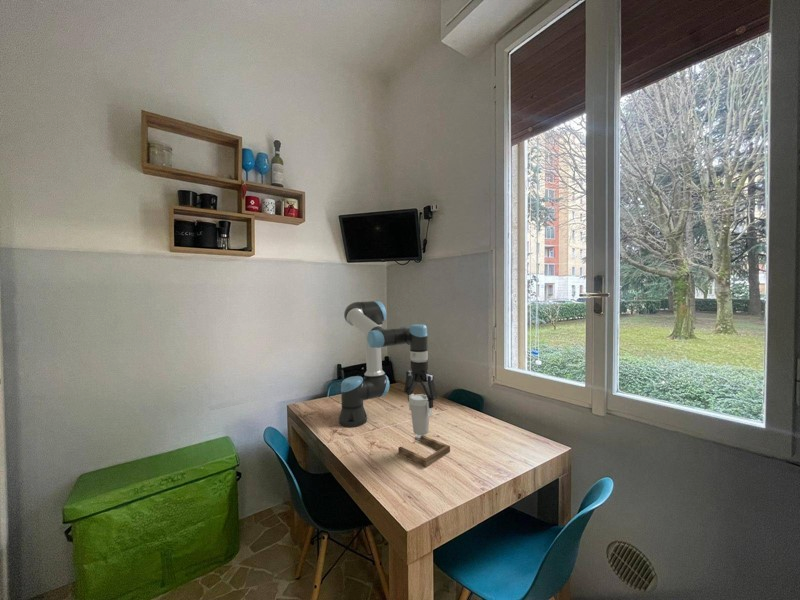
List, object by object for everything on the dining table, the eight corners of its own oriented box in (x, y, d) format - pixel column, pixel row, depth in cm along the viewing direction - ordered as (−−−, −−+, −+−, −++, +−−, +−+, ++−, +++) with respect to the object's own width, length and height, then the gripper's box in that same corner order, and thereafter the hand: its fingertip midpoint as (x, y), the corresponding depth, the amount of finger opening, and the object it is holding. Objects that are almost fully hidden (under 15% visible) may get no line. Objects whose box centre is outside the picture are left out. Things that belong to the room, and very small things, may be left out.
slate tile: (415, 439, 143) (415, 436, 143) (418, 435, 147) (418, 433, 147) (422, 440, 141) (422, 438, 141) (426, 437, 145) (426, 435, 145)
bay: (398, 453, 130) (398, 447, 130) (422, 440, 142) (422, 434, 142) (426, 467, 120) (426, 461, 120) (450, 451, 131) (450, 446, 131)
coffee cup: (430, 437, 126) (429, 401, 126) (408, 436, 128) (407, 400, 128) (432, 427, 135) (432, 394, 135) (411, 426, 137) (410, 393, 137)
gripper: (395, 358, 136) (396, 408, 137) (433, 365, 121) (435, 421, 121) (406, 355, 142) (407, 403, 142) (445, 362, 126) (446, 416, 126)
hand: (420, 412), depth 132 cm, fingers closed on coffee cup, 9 cm apart
